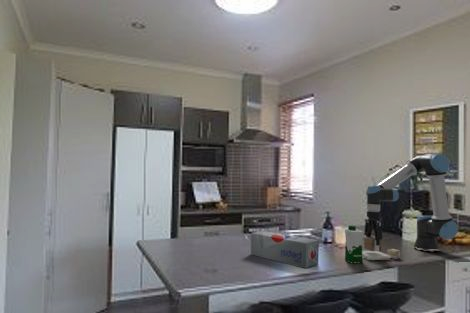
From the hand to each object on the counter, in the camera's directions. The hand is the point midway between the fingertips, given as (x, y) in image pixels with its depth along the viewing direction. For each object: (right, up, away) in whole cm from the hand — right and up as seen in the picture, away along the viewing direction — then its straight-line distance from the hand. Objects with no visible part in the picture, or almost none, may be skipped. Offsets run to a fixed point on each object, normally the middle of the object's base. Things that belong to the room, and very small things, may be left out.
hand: (372, 249), depth 216 cm
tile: (0, -5, 0) cm, 5 cm away
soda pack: (-56, -4, -9) cm, 56 cm away
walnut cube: (0, 0, 0) cm, 0 cm away
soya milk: (-15, -5, -11) cm, 19 cm away
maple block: (+12, -6, 0) cm, 13 cm away
